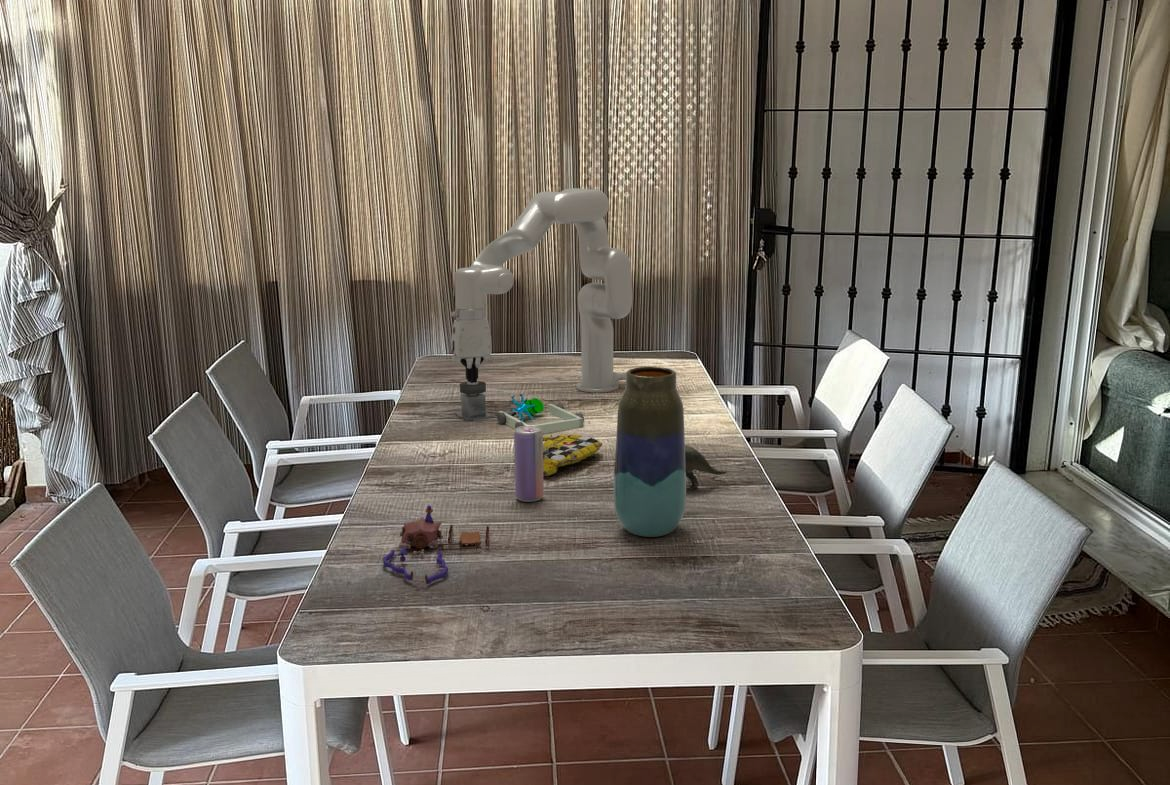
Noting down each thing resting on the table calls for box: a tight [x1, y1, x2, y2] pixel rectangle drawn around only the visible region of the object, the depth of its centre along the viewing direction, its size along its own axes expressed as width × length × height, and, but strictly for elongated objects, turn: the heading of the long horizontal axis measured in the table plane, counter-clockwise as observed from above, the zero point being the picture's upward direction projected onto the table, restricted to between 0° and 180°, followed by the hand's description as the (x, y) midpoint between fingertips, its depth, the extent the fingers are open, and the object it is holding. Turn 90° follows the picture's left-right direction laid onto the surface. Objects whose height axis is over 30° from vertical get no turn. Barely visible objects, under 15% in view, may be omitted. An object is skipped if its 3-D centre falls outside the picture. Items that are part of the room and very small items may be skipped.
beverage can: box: [513, 426, 545, 503], centre depth 216 cm, size 6×6×15 cm
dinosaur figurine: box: [685, 444, 728, 490], centre depth 222 cm, size 22×8×11 cm, turn 71°
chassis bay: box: [496, 403, 585, 435], centre depth 274 cm, size 19×18×3 cm
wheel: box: [459, 380, 487, 396], centre depth 281 cm, size 7×7×5 cm
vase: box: [613, 366, 687, 538], centre depth 196 cm, size 14×14×31 cm
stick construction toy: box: [509, 393, 545, 423], centre depth 279 cm, size 12×7×8 cm
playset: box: [382, 504, 490, 586], centre depth 188 cm, size 25×19×7 cm
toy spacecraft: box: [513, 434, 603, 477], centre depth 241 cm, size 17×23×5 cm
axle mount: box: [454, 393, 494, 422], centre depth 282 cm, size 8×8×6 cm
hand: (472, 381), depth 280 cm, fingers closed
